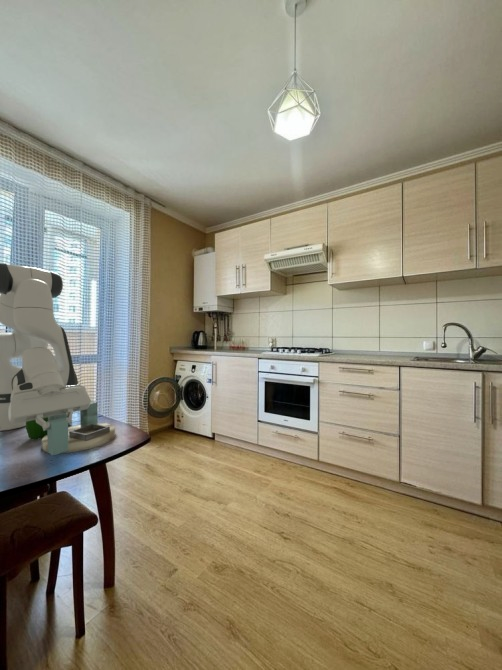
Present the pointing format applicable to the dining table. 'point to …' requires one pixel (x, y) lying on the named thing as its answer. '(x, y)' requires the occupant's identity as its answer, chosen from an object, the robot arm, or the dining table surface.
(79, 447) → the stool seat
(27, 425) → the bell pepper
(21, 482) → the dining table surface
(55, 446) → the loose leg
